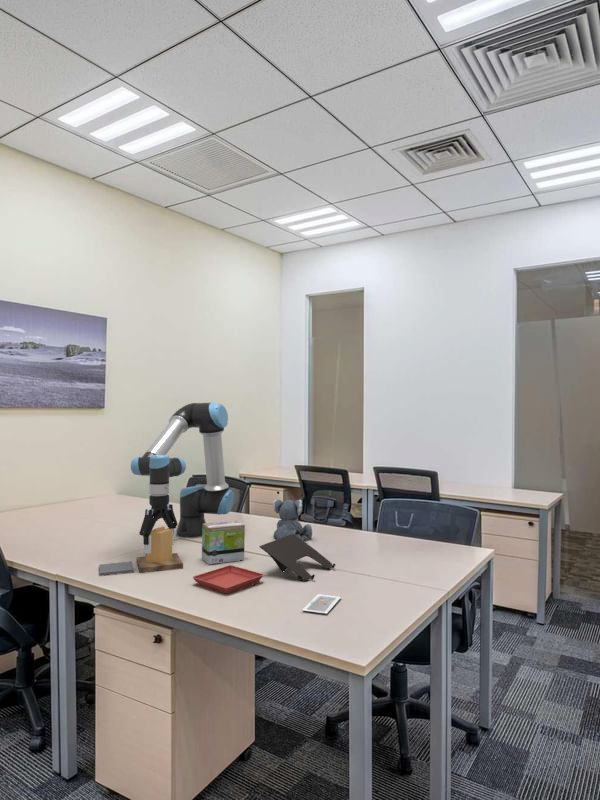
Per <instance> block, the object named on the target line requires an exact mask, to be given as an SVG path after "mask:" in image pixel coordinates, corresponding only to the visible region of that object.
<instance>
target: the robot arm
mask: <svg viewBox="0 0 600 800" xmlns="http://www.w3.org/2000/svg"><path fill="white" fill-rule="evenodd" d="M228 421H229V414H228V412H227V408H226V407H225V406H224V405H223V404H222V403H219V402H191V403H188V404H185V405H183V406H182V407H181V408H178V410H176V411H175V412H174V413H173V414H172V415H171V417H169V420H168V424H167V425H166V426H165V427H164V429H163V430H162V431H161V432H160V434H158V437H156V439H155V440H154V441H153V443H152V444H151V445H150V446H149V447H148V449H147V450H146V451H145V453H144V454H143V455H142V456H137V457H133V459H132V460H131V462H130V470H131V473H132V474H133V475H135V476H141V477H142V476H143V477H144V476H145V477H146V476H148V477H149V487H148V489H149V490H148V491H149V492H148V493H149V505H150V506H151V507H150V508H151V509H149V508H148V509H147V508H146V509H145V511H144V512H145V513H144V517H143V521H142V523H141V527H140V530H139V534H138V535H139V536H141V537H143V552H144V554H146V553H149V554H150V553H151V536H149V535H150V533H151V531H152V530H153V529H154V527H155V525H156V523H157V522H158V521H159V520H160V519H163V522H164V523H165V524H166V526H167V528H166V529H172V546H174V535H176V536H177V537H179V538H198V537H202V525H203V523H207V521H206V519H205V514H207V515H209V514H210V515H219V516H220V515H228V514H229V513H230V512H231V510H232V509H233V506H234V504H235V503H234V502H235V493H234V491H233V490H232V489H230V487H229V484H228V483H227V482H226V476H225V475H226V474H225V465H224V454H223V453H224V452H223V450H224V449H223V441H222V434H223V432H224V431H225V428H226V427H227V426H228V423H229V422H228ZM192 428H198V431H199V434H200V435H202V438H203V440H202V442H203V449H204V450H203V451H204V452H203V453H204V462H205V472H206V473H205V475H206V485H205V486H204V485H193V486H188V487H184V488H182V489H181V490H180V491H179V521H177V518H176V516H175V512H174V507H173V504H170V495H169V493H170V478H172V477H179V476H180V475H183V474H184V473H185V472H186V469H187V464H186V461H185V460H184V459H183V458H182V457H175V456H174V457H170V456H169V455H168V453H169V451H170V450H171V449H172V448H173V446H174V444H175V443H176V442H177V441H178V440H179V438H180V437H181V435H182V434H183V433H186V432H187V431H188V430H189V429H192ZM175 529H176V531H174V530H175ZM147 532H148V533H147ZM175 533H176V534H175Z"/></svg>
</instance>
